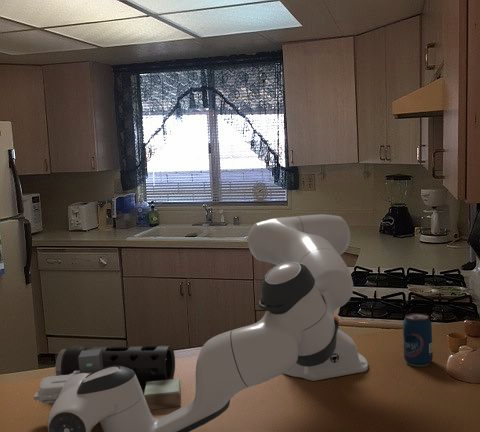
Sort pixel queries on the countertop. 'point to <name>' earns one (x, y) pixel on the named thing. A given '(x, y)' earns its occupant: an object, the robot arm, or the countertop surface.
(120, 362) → the muzzle brake
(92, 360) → the charger
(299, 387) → the countertop surface
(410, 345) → the soda can
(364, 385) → the countertop surface
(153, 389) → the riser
